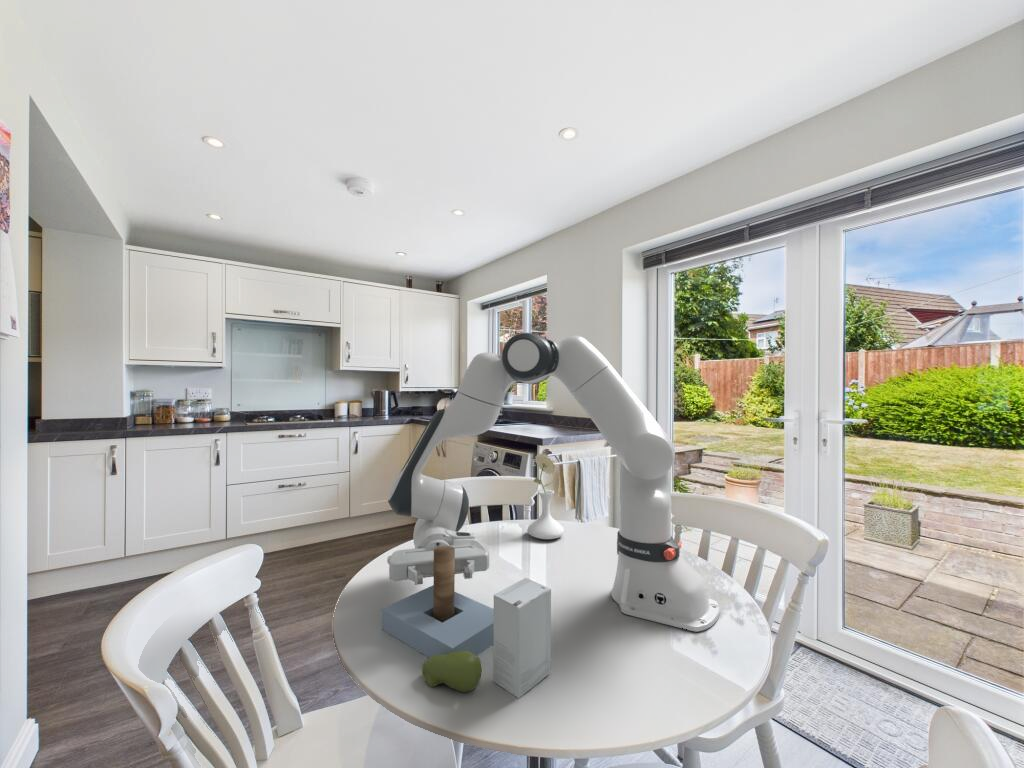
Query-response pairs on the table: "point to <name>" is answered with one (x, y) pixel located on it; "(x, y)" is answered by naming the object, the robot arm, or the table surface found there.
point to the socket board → (440, 624)
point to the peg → (444, 583)
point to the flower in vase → (545, 505)
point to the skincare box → (522, 636)
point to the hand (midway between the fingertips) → (444, 577)
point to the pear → (453, 670)
